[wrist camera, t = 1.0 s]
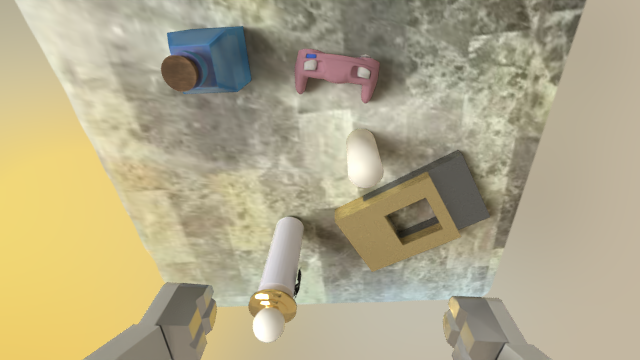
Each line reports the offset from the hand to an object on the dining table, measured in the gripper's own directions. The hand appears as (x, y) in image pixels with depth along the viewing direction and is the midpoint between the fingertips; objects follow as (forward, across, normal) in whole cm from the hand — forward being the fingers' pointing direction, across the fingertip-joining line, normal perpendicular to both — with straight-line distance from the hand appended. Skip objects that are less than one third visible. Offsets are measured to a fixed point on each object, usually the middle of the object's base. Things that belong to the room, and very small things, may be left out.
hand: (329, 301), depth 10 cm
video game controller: (+33, 0, -2) cm, 33 cm away
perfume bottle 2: (+33, +6, +22) cm, 40 cm away
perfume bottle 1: (+33, +14, -4) cm, 36 cm away
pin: (+33, -4, +7) cm, 34 cm away
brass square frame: (+33, -13, +18) cm, 39 cm away
